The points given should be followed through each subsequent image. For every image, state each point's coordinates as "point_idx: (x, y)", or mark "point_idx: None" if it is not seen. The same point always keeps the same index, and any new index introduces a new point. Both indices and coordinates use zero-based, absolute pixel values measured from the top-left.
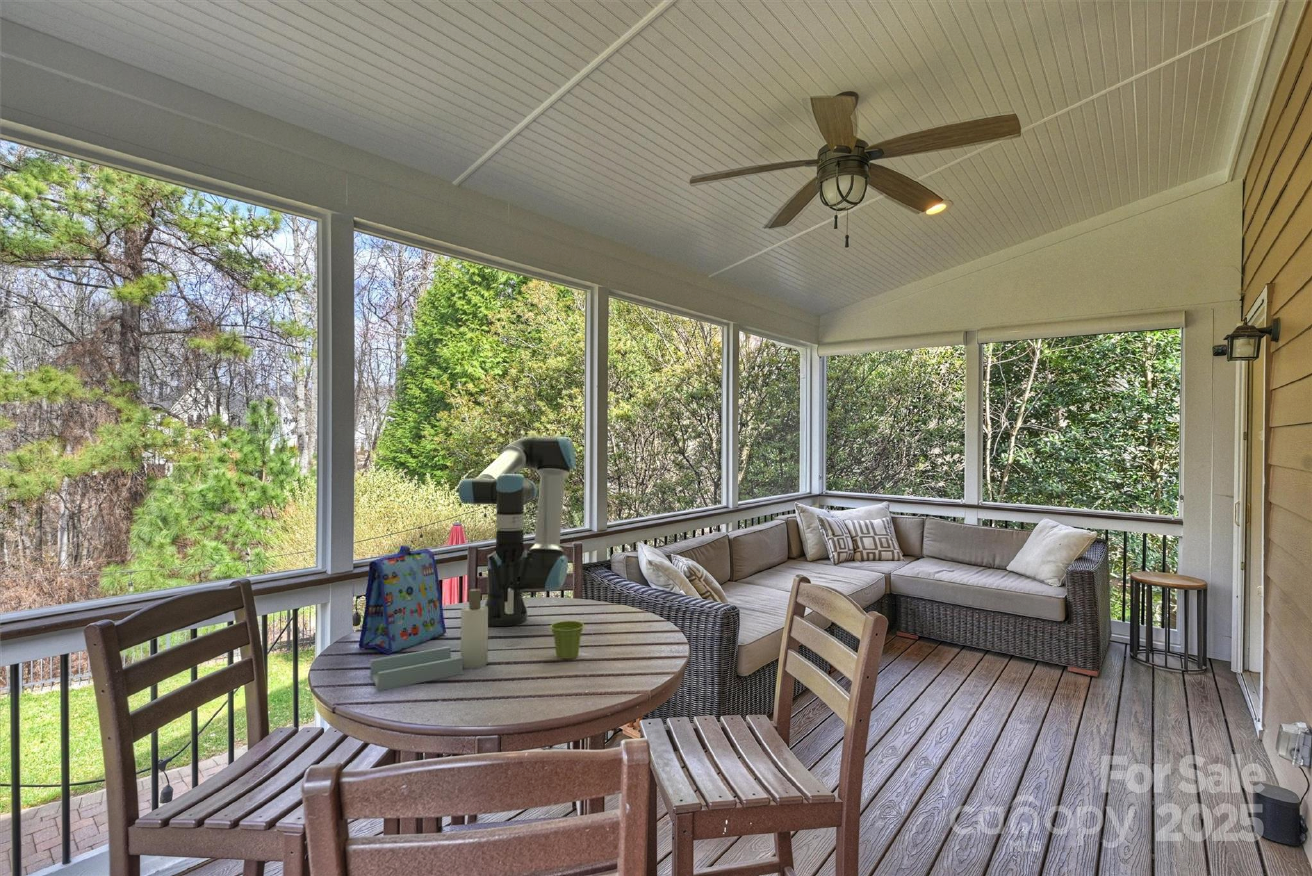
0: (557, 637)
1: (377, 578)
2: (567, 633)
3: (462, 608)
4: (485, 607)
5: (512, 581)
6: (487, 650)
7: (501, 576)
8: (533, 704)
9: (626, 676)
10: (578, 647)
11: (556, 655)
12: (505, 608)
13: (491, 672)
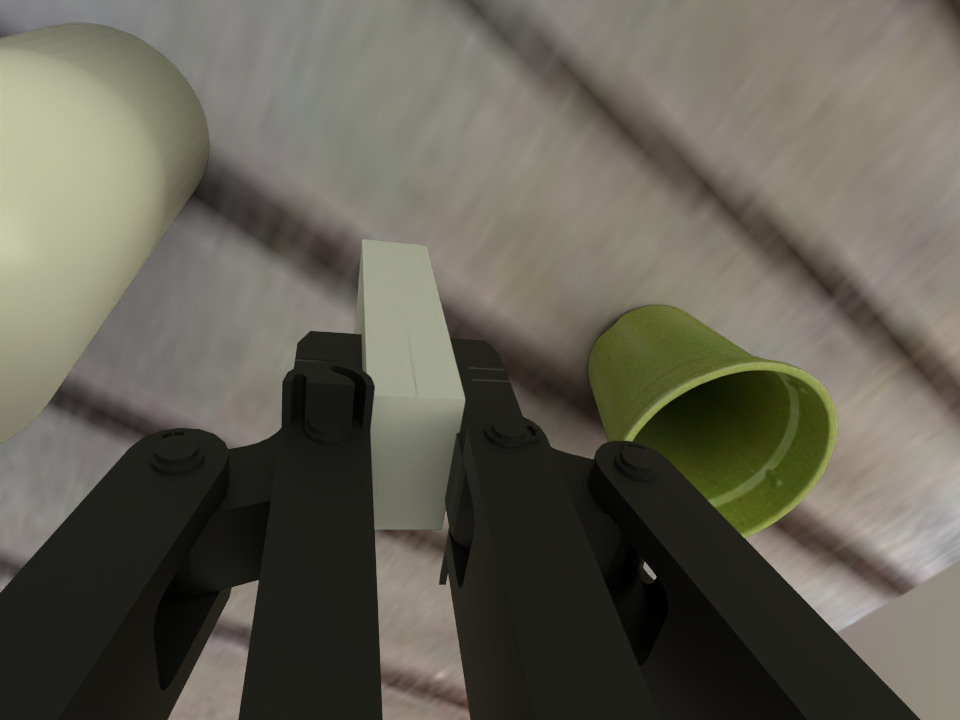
0: None
1: None
2: None
3: None
4: (27, 345)
5: (466, 606)
6: (183, 204)
7: (256, 608)
8: (221, 686)
9: None
10: (692, 428)
11: (596, 345)
12: (360, 282)
13: (175, 338)
